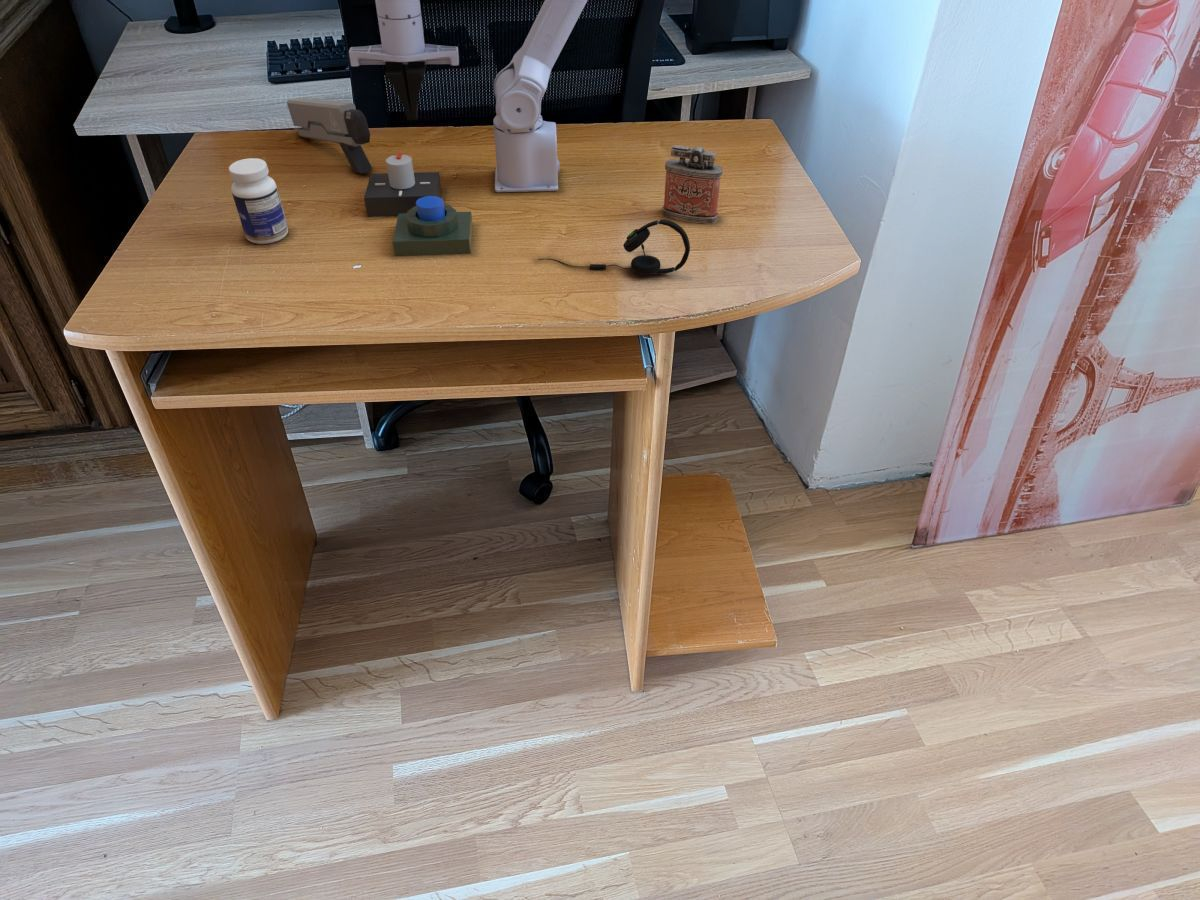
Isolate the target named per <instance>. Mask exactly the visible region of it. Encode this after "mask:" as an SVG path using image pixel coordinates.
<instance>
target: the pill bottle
mask: <svg viewBox="0 0 1200 900" xmlns="http://www.w3.org/2000/svg"><path fill="white" fill-rule="evenodd" d="M228 172H229V175H230V178H231V179H232V180H233V182H232V184H231V186H230V187H231V188H230V190H231V191H230V192H231V194H232V198H233V201H234V204H235V207H236V211H237V213H238V218H239V221H240V224H241V227H242V230H243V234H244V237H245V238H246V240H247V241H249V242H251V243H253V244H256V245H257V244H258V245H268V244H273V243H276V242H279V241H281V240H283V239H284V238H285V237H286V236H287V235H288V233H289V227H288V222H287V219H286V215H285V212H284V208H283V204H282V202H281V197H280V193H279V191H278V186H277V183H276V181H275V180H274V179H273V178H272V177H271V176H269V173H270V170H269V167H268V164H267V162H266V161H265V160H264V159H261V158H257V157H256V158H255V157H249V158H243V159H239V160H236V161H234V162H232V163H231V164H230V165H229V166H228Z"/></svg>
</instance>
